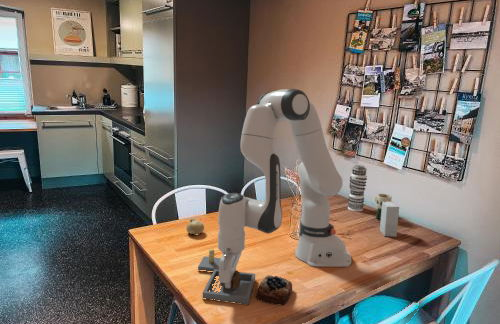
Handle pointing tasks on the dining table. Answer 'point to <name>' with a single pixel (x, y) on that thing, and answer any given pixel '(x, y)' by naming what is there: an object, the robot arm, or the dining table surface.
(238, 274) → the ring
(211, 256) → the grey peg stand
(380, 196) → the character mug
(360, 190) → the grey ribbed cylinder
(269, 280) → the pastry
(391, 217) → the skincare box
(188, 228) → the onion
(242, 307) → the dining table surface
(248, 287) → the tray
